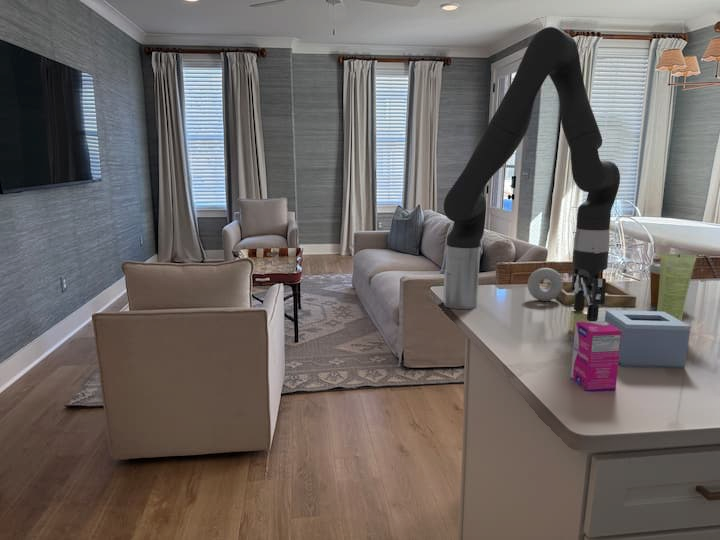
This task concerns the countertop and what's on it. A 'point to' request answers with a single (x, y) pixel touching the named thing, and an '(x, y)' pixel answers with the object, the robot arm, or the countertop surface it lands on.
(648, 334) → the box
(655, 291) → the disposable coffee cup
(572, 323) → the rectangular block
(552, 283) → the donut
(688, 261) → the tube
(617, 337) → the supplement box
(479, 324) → the countertop surface
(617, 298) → the frame
